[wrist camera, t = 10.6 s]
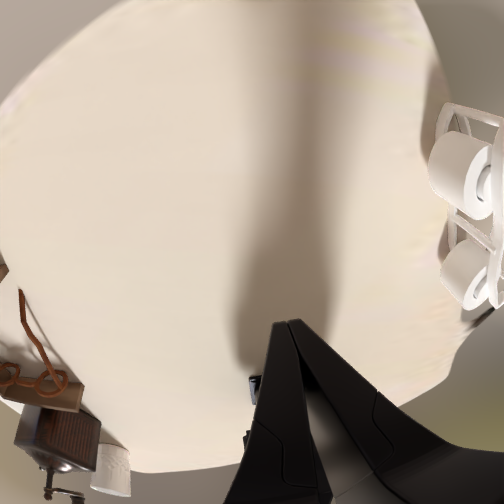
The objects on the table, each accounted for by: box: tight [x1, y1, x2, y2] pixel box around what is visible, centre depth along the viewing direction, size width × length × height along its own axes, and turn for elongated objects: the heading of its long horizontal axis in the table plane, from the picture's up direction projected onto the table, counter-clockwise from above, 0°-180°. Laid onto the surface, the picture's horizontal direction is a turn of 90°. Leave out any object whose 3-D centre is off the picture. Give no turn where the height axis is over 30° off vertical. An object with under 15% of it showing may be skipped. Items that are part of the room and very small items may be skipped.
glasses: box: [0, 289, 68, 398], centre depth 21 cm, size 13×13×5 cm
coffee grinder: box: [14, 404, 101, 504], centre depth 26 cm, size 16×11×18 cm
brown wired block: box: [0, 264, 85, 413], centre depth 21 cm, size 19×15×4 cm
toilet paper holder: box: [428, 102, 504, 310], centre depth 18 cm, size 20×11×7 cm, turn 29°
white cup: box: [90, 443, 131, 497], centre depth 36 cm, size 8×8×10 cm
